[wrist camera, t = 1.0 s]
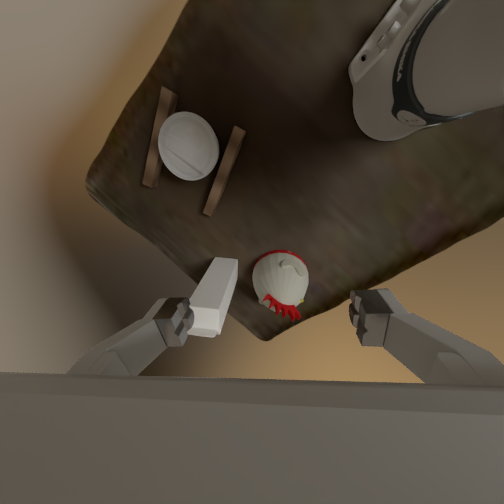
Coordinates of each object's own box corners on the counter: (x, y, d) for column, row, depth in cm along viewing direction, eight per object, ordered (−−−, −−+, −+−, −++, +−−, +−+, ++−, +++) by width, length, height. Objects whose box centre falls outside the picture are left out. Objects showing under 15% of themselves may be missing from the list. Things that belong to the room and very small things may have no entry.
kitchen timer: (289, 303, 55) (294, 350, 42) (244, 283, 54) (234, 325, 40) (318, 264, 49) (334, 304, 36) (268, 240, 48) (265, 273, 34)
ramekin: (174, 176, 44) (161, 179, 39) (167, 115, 39) (152, 110, 34) (224, 179, 43) (218, 182, 38) (223, 118, 38) (216, 112, 33)
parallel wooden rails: (168, 90, 37) (161, 86, 35) (246, 132, 39) (244, 130, 36) (148, 182, 45) (142, 183, 43) (214, 214, 46) (211, 216, 44)
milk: (215, 256, 51) (176, 318, 31) (238, 258, 51) (213, 322, 31) (215, 276, 54) (180, 345, 34) (237, 279, 53) (215, 350, 34)
